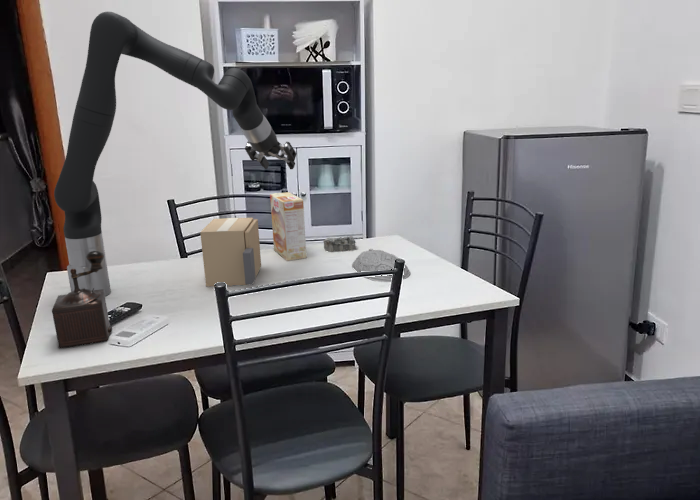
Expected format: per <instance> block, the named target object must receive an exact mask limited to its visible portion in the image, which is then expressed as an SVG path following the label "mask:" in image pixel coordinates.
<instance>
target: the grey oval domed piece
mask: <svg viewBox="0 0 700 500" xmlns="http://www.w3.org/2000/svg"><path fill="white" fill-rule="evenodd" d="M396 259H400V258H399V257H397V256H396V255H394V254H393V253H389V252H387V251H384V250H381V249H373V248H368V250H366V251H362V252H361V253H360V254H359V255H357V256H356V258H355V259H354V261H353V262H352V264H351V267H352V269H353V268H354V269H355V270H356V271H357V272H361V271H378V270H391V269H392V270H393V267H394V261H395V260H396ZM354 269H353V270H354ZM355 270H354V271H355ZM356 271H355V272H356ZM357 272H356V273H357ZM392 276H393V275H387V276H375V277H364V278H365V279H369V280H371V281H374V282H379V283H392V282H391V278H392ZM410 276H411V271H410V269H409V267H408V266H407V265H406V264H405V268H404V275H403V280H405V279H408V278H409V277H410ZM403 280H402V281H403Z"/></svg>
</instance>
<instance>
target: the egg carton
mask: <svg viewBox="0 0 700 500" xmlns="http://www.w3.org/2000/svg"><path fill="white" fill-rule="evenodd" d="M356 244H357V242H356V240H355V238H354V237H353V235H350V236H344V237H342V236H339V237H334V238H332V237H331V238H330V237H327V238H325V239H323V248H324V250H325V252H326V251H328V253H334V252H344V251H353V250H356ZM343 250H344V251H343Z"/></svg>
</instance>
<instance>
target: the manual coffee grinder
mask: <svg viewBox="0 0 700 500" xmlns="http://www.w3.org/2000/svg"><path fill="white" fill-rule="evenodd" d="M86 259H87V260H88V261H89V263H90V264H91V268H90V271H87V272H82V273H78V274H76V269H71V270H70V273H71V278H73V282H74V288H75V289H74V291H71V290H70V292H68V293H65V294H59V295H57V296H56V299H55V302H54V305H53V307H52V309H51V313H52V318H53V324H54V330H55V332H56V333H55V334H56V338H57V344H58V345H57V346H58V349H66V348H74V347H80V346H87V345H93V344H100V343H105V342H108V341H109V338H110V335H111V332H112V331H113V327H112V325H111V322H110V320H109V312H108V306H107V301H106V296H105V294H104V289H100V290H94V288H93V290H88V289H85V288H83V289H80V288H79V286H78V281H77V278H78V277H81V276H85V275H88V274H90V273H93V272H96V273H97V271H99V270H100V269H103V267H102V266H101V262H102V260H103V259H104V255H103V253H102V252H100V251H91V252H89V253H88V254H87V256H86Z"/></svg>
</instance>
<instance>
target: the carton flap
mask: <svg viewBox="0 0 700 500" xmlns="http://www.w3.org/2000/svg"><path fill="white" fill-rule="evenodd" d="M259 233H260V232H259V220H258V218H253V222H252V223H251V225H250V226H249V227H248V229H247V230H246V232H245V241H246V249H245V251H244V252H243V262H244V273H245V285H248V286H253V285H254V282H255V281H256V279H257V276H258V274H259V271H260V270H261V268H262V257H261V244H260V234H259Z"/></svg>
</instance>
